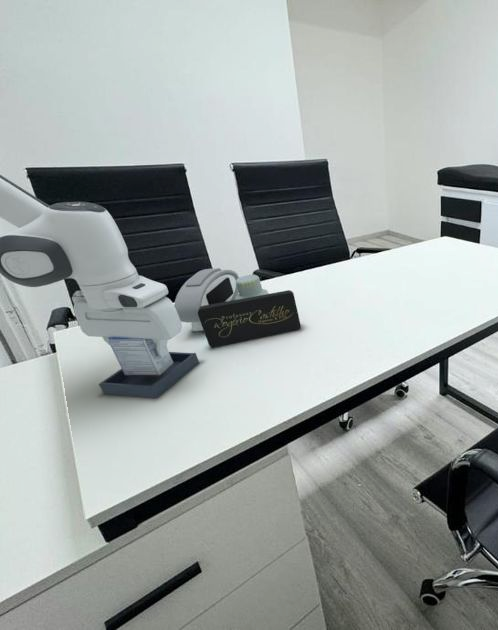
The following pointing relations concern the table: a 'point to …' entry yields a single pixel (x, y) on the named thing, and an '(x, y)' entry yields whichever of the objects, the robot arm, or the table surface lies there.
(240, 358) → the table surface
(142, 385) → the tray
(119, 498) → the table surface
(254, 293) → the air freshener
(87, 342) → the table surface
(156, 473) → the table surface
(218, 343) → the nameplate
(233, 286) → the alarm clock
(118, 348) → the medicine box
